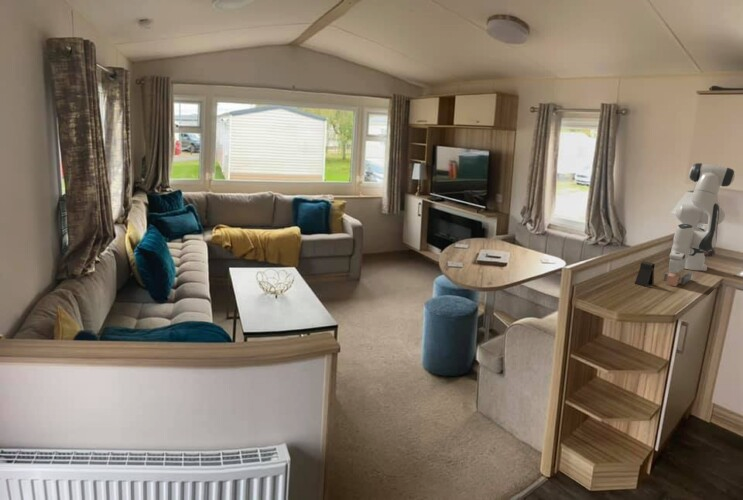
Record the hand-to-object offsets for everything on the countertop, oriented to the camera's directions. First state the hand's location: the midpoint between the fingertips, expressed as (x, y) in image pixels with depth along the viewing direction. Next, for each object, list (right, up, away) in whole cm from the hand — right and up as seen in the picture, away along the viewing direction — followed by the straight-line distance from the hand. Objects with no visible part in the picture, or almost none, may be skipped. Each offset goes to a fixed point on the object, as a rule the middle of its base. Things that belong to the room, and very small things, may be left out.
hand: (675, 278), depth 309 cm
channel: (+4, -1, +5) cm, 6 cm away
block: (-4, -3, -4) cm, 6 cm away
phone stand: (-21, -3, -8) cm, 23 cm away
